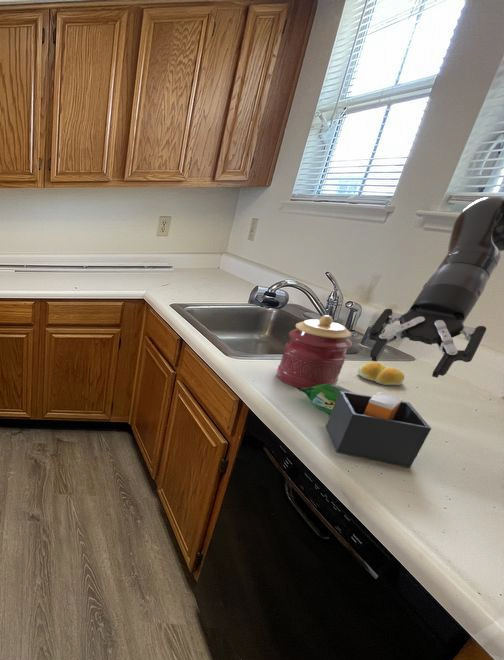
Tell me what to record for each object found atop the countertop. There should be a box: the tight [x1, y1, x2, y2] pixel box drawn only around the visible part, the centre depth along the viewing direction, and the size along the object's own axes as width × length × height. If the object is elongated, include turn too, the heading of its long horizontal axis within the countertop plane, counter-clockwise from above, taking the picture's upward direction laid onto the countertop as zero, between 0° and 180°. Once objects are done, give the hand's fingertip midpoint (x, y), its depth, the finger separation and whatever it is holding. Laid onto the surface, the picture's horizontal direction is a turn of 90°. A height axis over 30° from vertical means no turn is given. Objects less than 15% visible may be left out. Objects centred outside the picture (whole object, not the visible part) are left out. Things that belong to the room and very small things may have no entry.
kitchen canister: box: [276, 314, 353, 389], centre depth 104 cm, size 13×13×18 cm
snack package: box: [298, 384, 357, 415], centre depth 93 cm, size 7×16×5 cm, turn 21°
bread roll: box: [357, 361, 405, 386], centre depth 109 cm, size 8×9×4 cm
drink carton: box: [363, 391, 404, 420], centre depth 80 cm, size 4×5×10 cm
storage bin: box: [325, 391, 432, 469], centre depth 81 cm, size 11×10×9 cm
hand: (403, 366), depth 75 cm, fingers open, 8 cm apart
